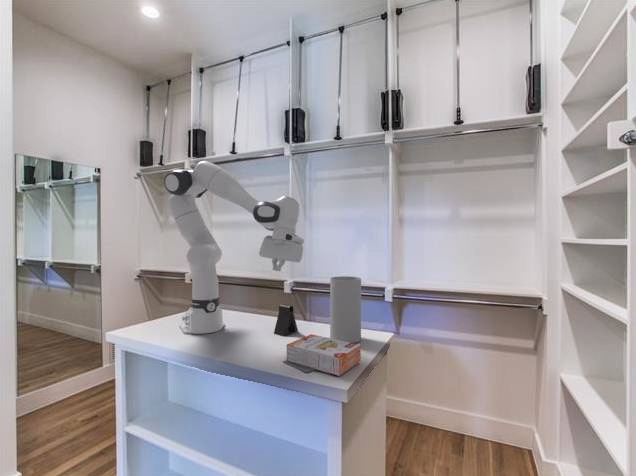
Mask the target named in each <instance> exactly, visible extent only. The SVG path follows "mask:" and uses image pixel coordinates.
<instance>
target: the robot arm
mask: <svg viewBox="0 0 636 476" xmlns="http://www.w3.org/2000/svg"><path fill="white" fill-rule="evenodd" d="M163 184H164V188H165V190H166V191H167V193H169V194H171V195H170V196H169V198H168V203H169V204H168V205H169V208H170V212H171V215H172V218H173V219H174V221H175V224H176V226H177V228H178V230H179V232H180V234H181V236H182V238H184V240H185V241H186V242H187V243H188V245H189V247H190V249H188V251H187V252H186V253H187V254H186V259H187V262H188V264H189V269H190V270H189V271H190V275H191V280H192V281H191V284H192V285H191V286H192V287H191V288H192V289H191V291H192V298H191V299H190V300H191V301H190V305H189V306H190V307H189V308H188V309H187V311H186V312H185V313H184V315H182V317H181V318H182V321H183V322H180V323H179V325H178V326H179V328H180V330H181V331H182V333H183V334H185V335H186V334H188V335H189V334H195V335H196V334H197V335H199V334H210V333H215V332H220V331H221V330H222V329H223V328H224V327H226V323H225V322H224V319H223V309H222V308H221V307H220V302H221V301H220V297H219V278H218V274H217V268H216V267H217V266H216V265H217V264H218V263H219V261H220V260H221V258H222V254H223V253H222V249H221V247H220V246H219V245H218V243H217V241H216V240H215V238H214V237H213V235H212V233H211V232H210V229H209V228H208V227H207V225H206V223H205V221H204V218H203V216H202V214H201V212H200V210H199V207H198V206H197V203H196V199H197V198H199V199H200V198H201V197H202V196H203V194H205V193H206V192H208V191H209V192H210V193H212V194H214V195H215V196H217V197H219V198H221V199H223V200H226V201H228V202H230V203H233V204H235V205H237V206H240V207H241V208H243V209H244V210H246V211H247V212H248V213H251V214H252V216H253V218H254V220H255V221H256V222H257V223H259V225H261V226H262V227H263V228H265V229H266V230H267V231H271V232H272V234H271V235H266V236H265V237H263V240H262V242H261V246H260V247H259V252H258V255H259V257H260V258H261V257H262V258H267V259H271V262H272V263H271V264H272V271H276V272H282V271H281V270H282V268H283V266H284V265H285V263H286V262H292V263H293V262H294V263H300V262H301V261H302V259H303V258H302V257H303V252H304V246H303V244H304V242H305V240H304V238H302V237H301V236H298V235H296V231H297V230H296V226H297V223H298V220H299V216H300V204H299V202H298V201H297V200H296V199H294V198H292V197H289V196H285V195H284V196H281V197H279V198H277V199H274V200H266V201H265V200H262V201H259V200H257V199H256V198H255V197H254V196H252V195H251V194H250V193H249V192H248V191H247V190H246V189H245V188H244V186H242V185H241V183H240V182H239V181H238V180H237V179H236V178H235V177H234V176H233V175H232V174H231V173H230V172H229V171H227V170H226V169H224V168H222V167H220V166H219V165H217V164H216V163H212V162H211V161H208V160H202V161H199V162H198V163H197V164H196V165H195V167H194V168H193V169H190V168H189V169H188V168H187V169H174V170H171V171H169V172H167V173H166V175H165V176H164V179H163Z"/></svg>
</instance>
